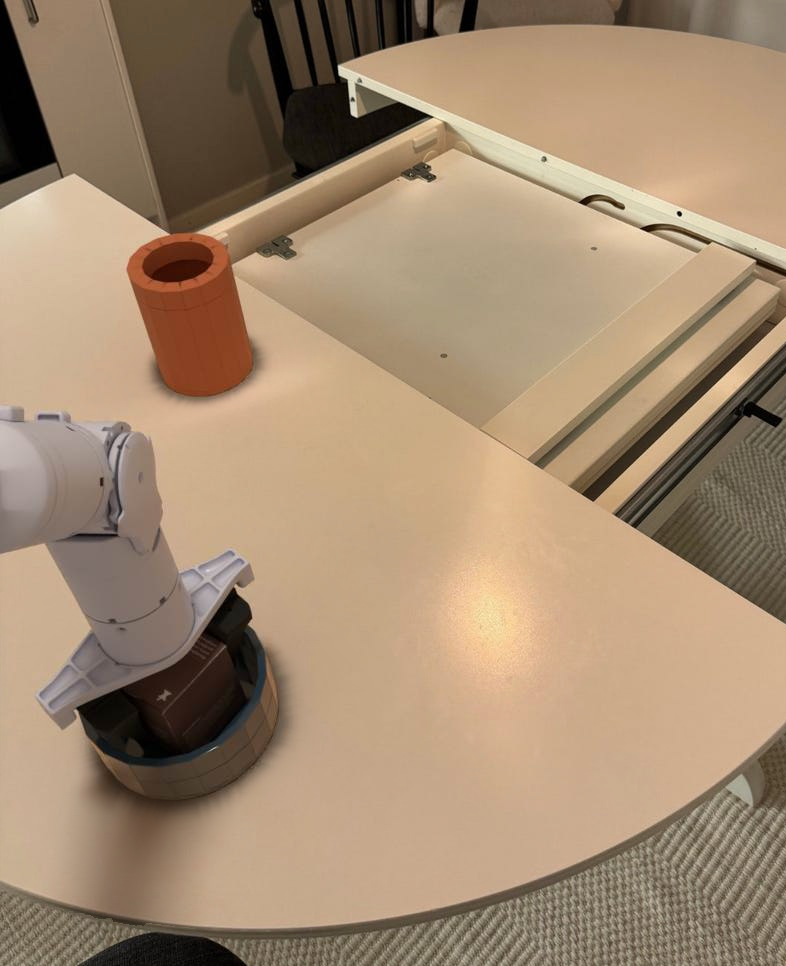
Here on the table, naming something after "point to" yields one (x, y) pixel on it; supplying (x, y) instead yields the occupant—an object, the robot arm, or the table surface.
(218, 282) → the jar
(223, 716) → the box
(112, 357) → the table surface
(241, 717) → the bowl
